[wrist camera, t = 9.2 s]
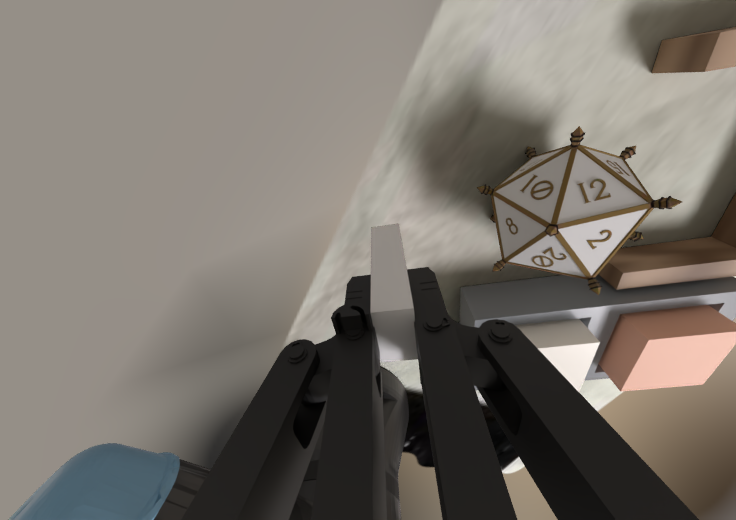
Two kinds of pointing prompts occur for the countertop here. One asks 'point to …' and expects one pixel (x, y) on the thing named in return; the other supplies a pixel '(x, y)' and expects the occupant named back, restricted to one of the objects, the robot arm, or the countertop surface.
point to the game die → (570, 210)
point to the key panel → (587, 303)
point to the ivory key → (564, 346)
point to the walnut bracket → (732, 235)
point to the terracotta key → (667, 347)
